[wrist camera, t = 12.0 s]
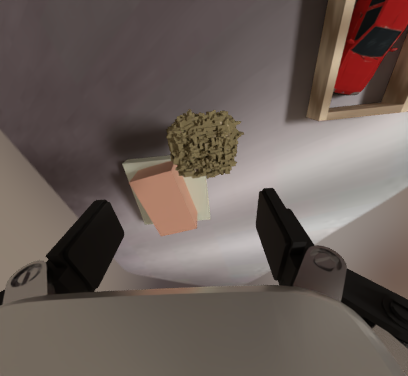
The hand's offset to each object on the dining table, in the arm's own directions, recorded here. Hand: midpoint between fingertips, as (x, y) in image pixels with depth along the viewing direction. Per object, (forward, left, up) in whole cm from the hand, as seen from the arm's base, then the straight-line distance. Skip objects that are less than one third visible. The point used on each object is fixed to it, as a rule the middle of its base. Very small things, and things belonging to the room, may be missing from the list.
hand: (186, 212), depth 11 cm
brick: (+10, -6, -19) cm, 22 cm away
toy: (-2, +2, -21) cm, 21 cm away
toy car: (-11, +23, -21) cm, 33 cm away
